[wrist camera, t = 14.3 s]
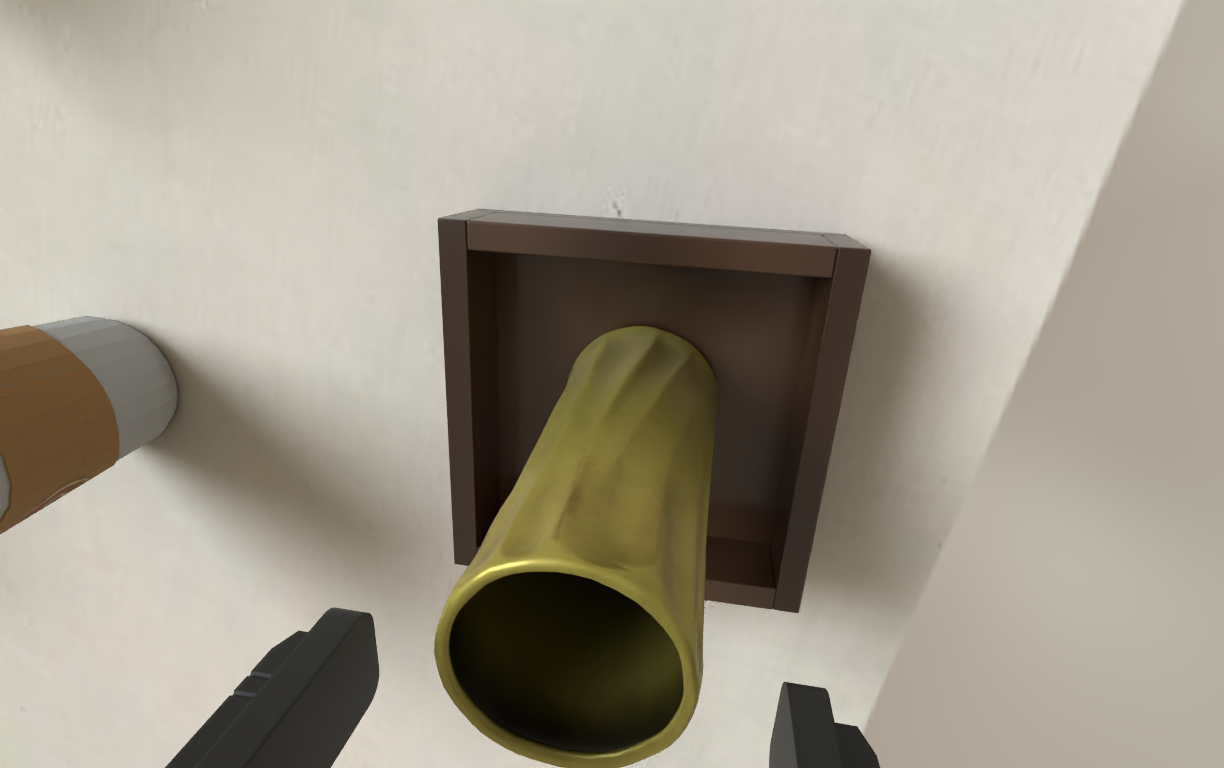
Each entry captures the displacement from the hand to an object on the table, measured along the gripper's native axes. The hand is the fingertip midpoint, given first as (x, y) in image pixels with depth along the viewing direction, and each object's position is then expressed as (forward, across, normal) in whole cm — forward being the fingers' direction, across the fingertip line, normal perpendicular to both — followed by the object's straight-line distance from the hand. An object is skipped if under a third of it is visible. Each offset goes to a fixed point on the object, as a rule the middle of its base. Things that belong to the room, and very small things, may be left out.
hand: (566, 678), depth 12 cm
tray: (+15, 0, 0) cm, 15 cm away
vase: (+14, 0, 0) cm, 14 cm away
